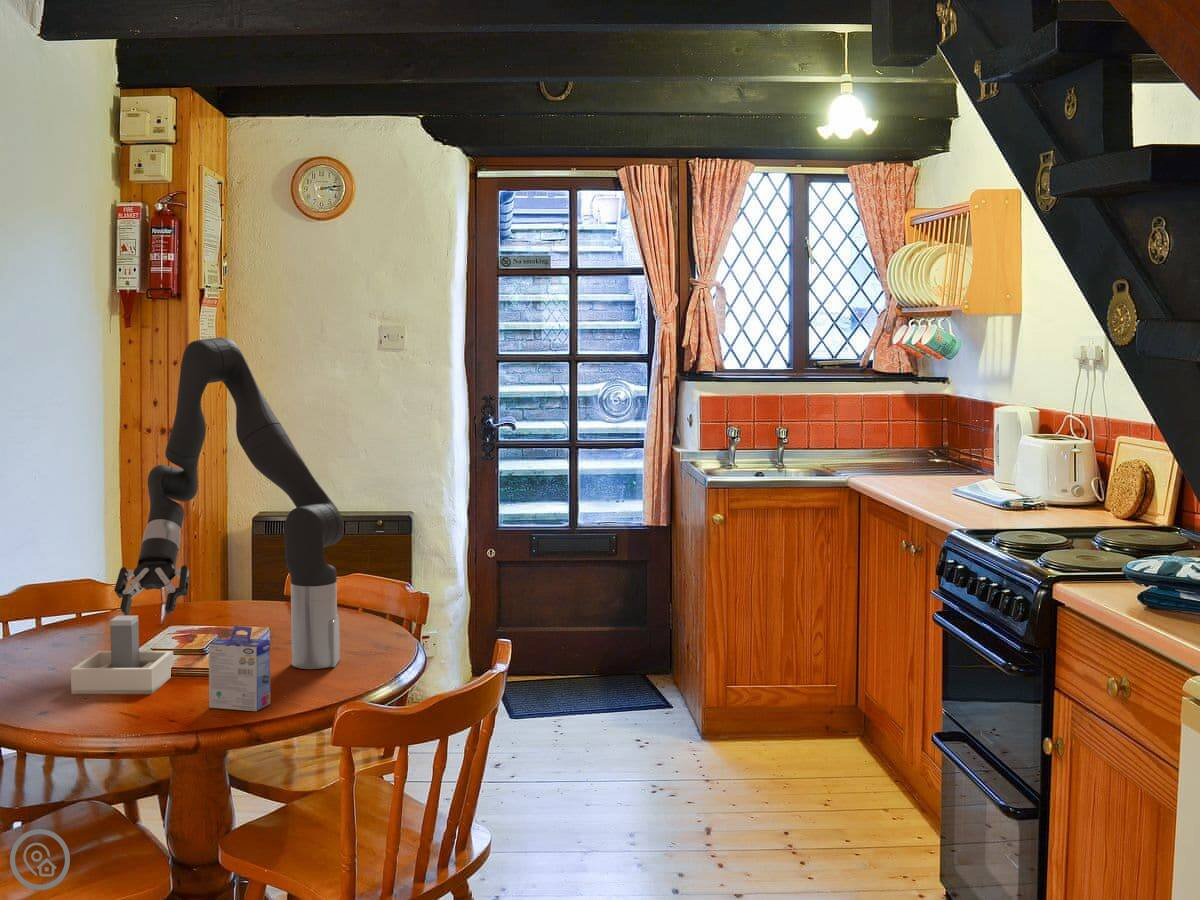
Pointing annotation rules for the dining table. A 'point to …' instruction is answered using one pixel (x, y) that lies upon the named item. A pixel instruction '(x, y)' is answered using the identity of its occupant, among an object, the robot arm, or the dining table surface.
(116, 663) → the plug
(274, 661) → the dining table surface
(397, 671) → the dining table surface
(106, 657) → the caddy
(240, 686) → the ink cartridge box
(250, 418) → the robot arm
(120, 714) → the dining table surface
